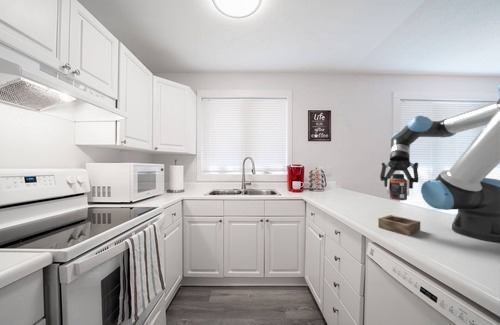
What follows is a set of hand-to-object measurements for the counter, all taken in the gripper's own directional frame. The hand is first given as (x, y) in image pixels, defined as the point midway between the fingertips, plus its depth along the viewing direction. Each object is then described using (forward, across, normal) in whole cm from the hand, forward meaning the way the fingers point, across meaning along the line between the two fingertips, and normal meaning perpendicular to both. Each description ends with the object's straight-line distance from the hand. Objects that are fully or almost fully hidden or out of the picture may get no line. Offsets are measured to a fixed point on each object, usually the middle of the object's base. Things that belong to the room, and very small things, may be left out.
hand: (397, 192), depth 79 cm
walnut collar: (+9, 0, -14) cm, 17 cm away
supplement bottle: (0, 0, -5) cm, 5 cm away
